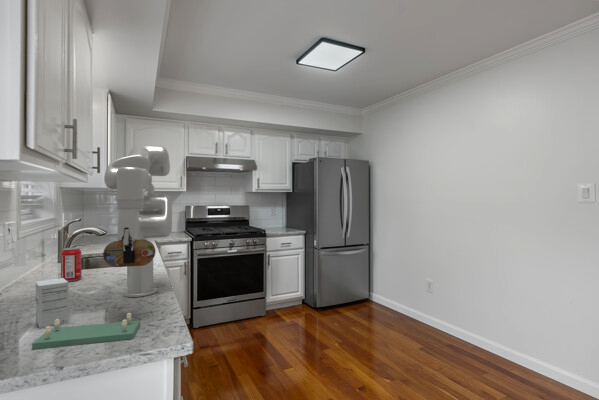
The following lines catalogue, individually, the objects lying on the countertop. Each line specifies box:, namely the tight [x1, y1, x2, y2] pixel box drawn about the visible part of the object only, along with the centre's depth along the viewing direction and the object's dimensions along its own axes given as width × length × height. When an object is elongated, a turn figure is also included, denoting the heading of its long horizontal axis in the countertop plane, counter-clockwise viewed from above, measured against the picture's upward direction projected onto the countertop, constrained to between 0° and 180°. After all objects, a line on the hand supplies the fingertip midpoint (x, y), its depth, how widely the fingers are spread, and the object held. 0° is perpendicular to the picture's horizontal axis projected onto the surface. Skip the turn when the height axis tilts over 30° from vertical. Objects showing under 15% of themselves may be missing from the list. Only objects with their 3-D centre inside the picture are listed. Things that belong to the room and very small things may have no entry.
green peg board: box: [31, 312, 141, 350], centre depth 90 cm, size 10×23×5 cm, turn 106°
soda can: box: [60, 247, 82, 283], centre depth 153 cm, size 8×8×15 cm
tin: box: [102, 239, 156, 268], centre depth 106 cm, size 15×3×8 cm, turn 105°
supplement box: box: [35, 277, 69, 329], centre depth 101 cm, size 7×7×13 cm
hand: (130, 261), depth 106 cm, fingers closed on tin, 2 cm apart
